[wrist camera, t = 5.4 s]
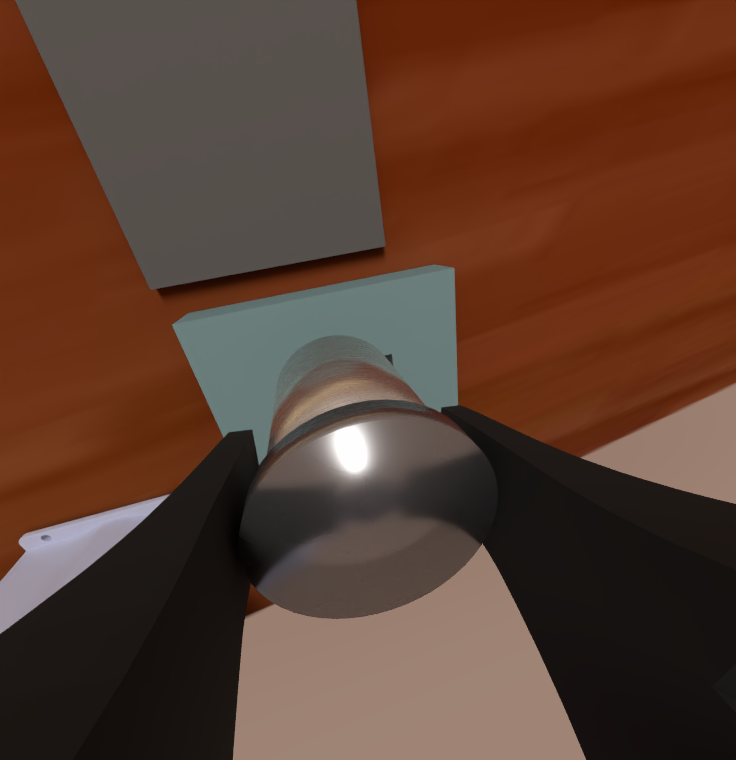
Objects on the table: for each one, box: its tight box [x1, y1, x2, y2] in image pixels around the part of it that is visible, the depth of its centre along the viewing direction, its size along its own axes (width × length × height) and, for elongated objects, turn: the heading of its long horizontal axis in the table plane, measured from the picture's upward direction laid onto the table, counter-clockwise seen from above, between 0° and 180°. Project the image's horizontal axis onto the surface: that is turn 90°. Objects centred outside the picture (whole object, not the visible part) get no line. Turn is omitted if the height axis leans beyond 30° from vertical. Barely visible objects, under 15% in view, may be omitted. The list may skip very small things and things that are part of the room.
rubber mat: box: [15, 0, 385, 290], centre depth 13 cm, size 12×11×1 cm
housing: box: [172, 265, 458, 465], centre depth 19 cm, size 14×14×2 cm
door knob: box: [238, 335, 498, 619], centre depth 10 cm, size 6×6×7 cm
